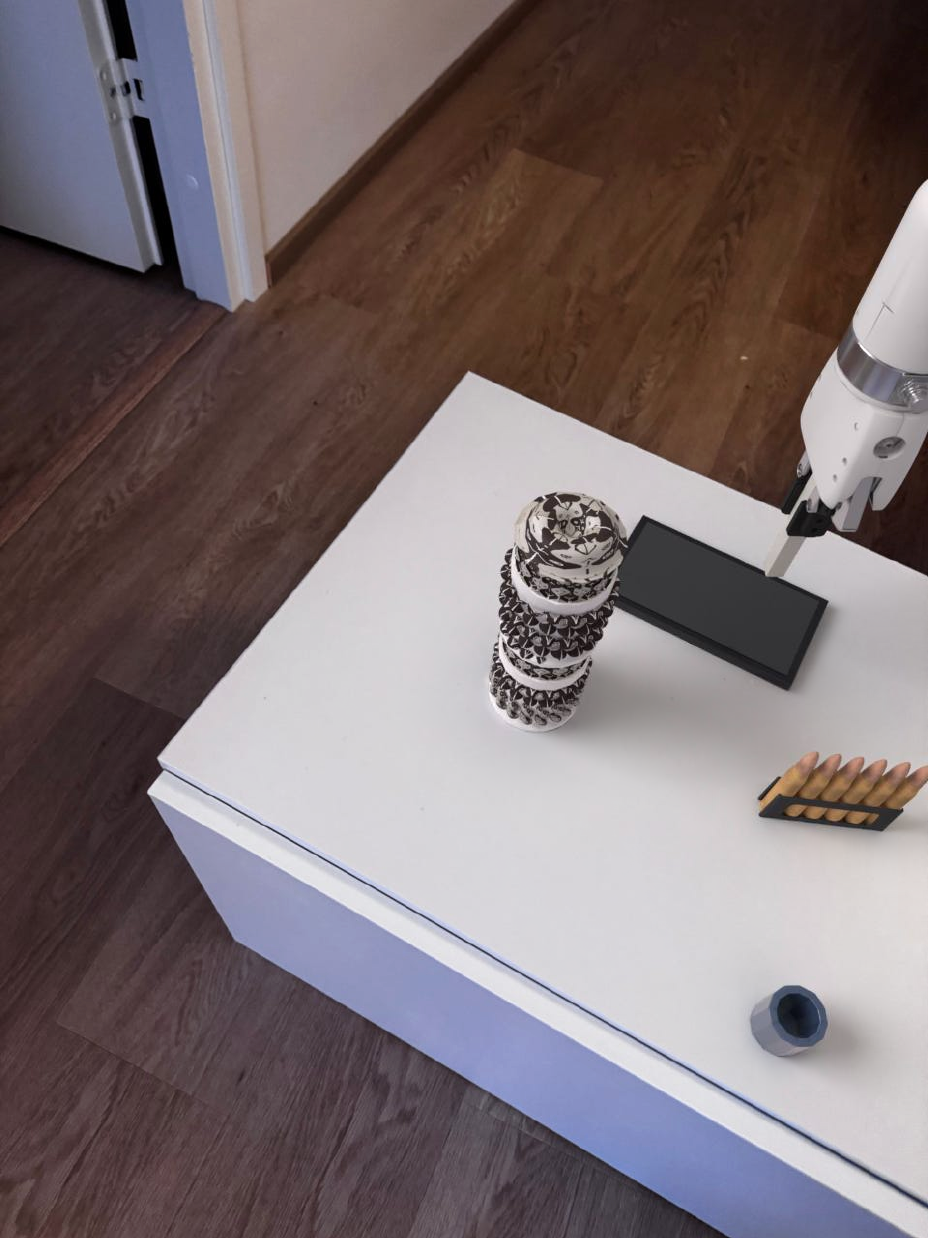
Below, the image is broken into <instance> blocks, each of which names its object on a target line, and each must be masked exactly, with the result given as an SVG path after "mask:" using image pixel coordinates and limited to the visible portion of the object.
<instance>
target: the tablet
mask: <svg viewBox="0 0 928 1238" xmlns="http://www.w3.org/2000/svg"><path fill="white" fill-rule="evenodd" d="M627 547H628V548H627V550H626V552H625V555H624V557H623V559H622V561H621V564H620V565H619V566H617V568H618V573H617V577H618V578H619V580H620V587H619V589H618V590H617V591H618V593H619V598H618V600H617V602H616V603H614V604H612V605H613V607H614V608H617V609H620V610H622V611H623V612H626V613H628V614H630V615H632V616H634V617H636V618H638V619H640V620H641V621H644V622H646V623H648V624H650V625H652V626H654V627H656V628H658V629H660V630H661V631H664V632H666V633H668V634H670V635H672V636H675V637H676V638H679V639H681V640H683V641H685V642H686V643H689V644H690V645H692V646H695V647H697V648H700V649H701V650H702V651H705V652H707V653H709V654H711V655H713V656H715V657H717V658H719V659H721V660H724V661H725V662H728V663H729V664H731V665H733V666H735V667H737V668H740V669H742V670H744V671H746V672H748V673H750V674H752V675H754V676H756V677H758V678H760V679H762V680H764V681H766V682H768V683H770V684H772V685H774V686H776V687H778V688H781V689H783V690H785V691H787V692H788V691H789V690H790V688H791V687H792V686H793V683H794V681H795V679H796V676H797V675H798V672H799V670H800V667H801V665H802V664H803V661H804V658H805V656H806V654H807V653H808V652H807V651H808V649H809V648H810V645H811V643H812V641H813V638H814V636H815V634H816V632H817V629H818V627H819V625H820V622H821V620H822V618H823V616H824V613H825V611H826V609H827V607H828V603H829V602H830V601H829V600H828V599H826V598H824V597H822V596H819V595H817V594H815V593H813V592H811V591H809V590H807V589H804V588H802V587H800V586H798V585H796V584H794V583H791V582H790V581H788V580H785V579H783V578H782V577H773V578H772V579H768V578H767V577H766V575H765V570H764V569H761V568H759V567H757V566H755V565H753V564H750V563H748V562H746V561H745V560H742V559H739V558H738V557H735V556H734V555H731V554H729V553H727V552H725V551H722V550H720V549H719V548H717V547H714V546H711V545H709V544H707V543H705V542H704V541H701V540H699V539H697V538H695V537H692V536H690V535H687V534H685V533H683V532H681V531H679V530H677V529H675V528H672V527H670V526H668V525H666V524H664V523H662V522H660V521H657V520H655V519H654V518H651V517H649V516H647V515H645V514H642V516H641V517H640V519H639V521H638V522H637V524H636V526H635V527H634V528H633V530H632V532H631V534H630V535H629V537H628V538H627ZM606 602H607V600H606Z"/></svg>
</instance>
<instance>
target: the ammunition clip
mask: <svg viewBox="0 0 928 1238" xmlns="http://www.w3.org/2000/svg"><path fill="white" fill-rule="evenodd" d="M819 758H820V753H819V752H818V751H811V752H808V753H807V754H806V755H804V756H802V758H801V759H800V760H799V761H797V762H796V763H795V764H794V765H792V766H791V767H789V768H788V769H787V770H786V771H785V772H784V774H783V775H782V776H781V775H780V776H777V777H776V778H775V779H774V780H773V781H772V782H771V783H770V784H769V785H768V786H767V787H766V788H765V789H764V790H763V791H762V793H760V795H758V797H757V801H760V800H761V799H762V800H761V801H760V802H759V804H758V805H759V806H758V808H759V810H760V812H759V813H758V817H760V818H765V819H773V820H782V821H788V822H789V821H790V822H799V823H807V824H816V825H824V826H833V827H841V828H850V829H857V830H867V831H875V832H883V831H884V830H886V829H887V828H888V827H889V826H890V825H891V824H892V823H893V822H895V820H896V819H897V818H899V816H901V815H902V814H903V813H904V812H905V810H904V806H906V805H907V804H908V803H909V802H910V801H912V800H913V799H914V798H915V797H916V796H917V795H918V793H919V791H920V790H921V789H922V788H923V787H924V785H926V784H927V783H928V764H927V765H923V766H921V767H919V768H917V769H916V770H915V771H913V772H911V773H910V774H909V772H910V770H911V767H912V765H911V762H910V761H906V762H901V763H899V764H897V765H895V766H894V767H892V768H891V769H890V770H889V771H887V772H886V769H887V767H888V760H887V759H879V760H875V761H874V762H872V763H871V764H870V765H868V766H867V767H866V768H865V769H863V767H864V765H865V762H866V761H865V757H863V756H858V757H854V758H853V759H850V760H849V761H848V762H846V763H845V764H844V765H843V766H842V767H840V766H841V763H842V760H843V759H842V758H843V757H842V755H841V754H840V753H836V754H833V755H831V756H829V757H827V758H825V760H824V761H822V763H820V764H819V765H818V762H819ZM817 765H818V766H817ZM816 766H817V767H816ZM862 769H863V770H862Z"/></svg>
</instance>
